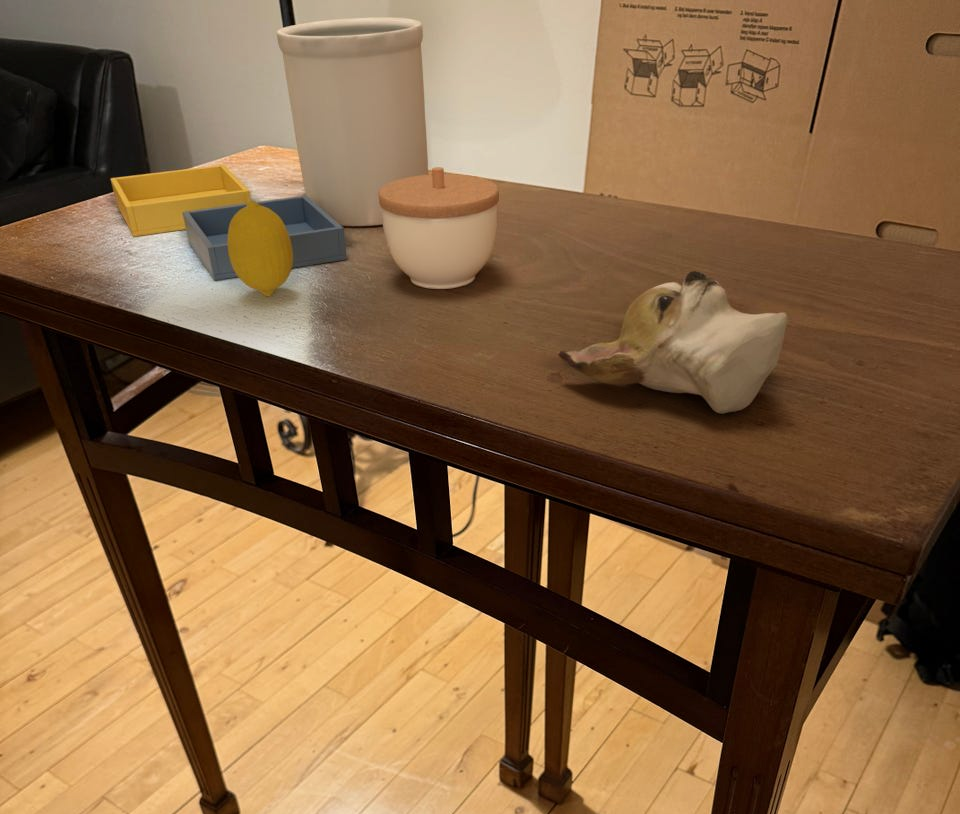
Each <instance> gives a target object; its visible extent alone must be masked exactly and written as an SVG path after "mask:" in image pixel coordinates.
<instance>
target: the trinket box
mask: <svg viewBox="0 0 960 814" xmlns="http://www.w3.org/2000/svg"><path fill="white" fill-rule="evenodd" d="M444 170H445V168H444V167H440V166H438V167H437V166H436V167H431V173H430V174H429V173H428V175H420V176H412V177H407V178H403V179H399V180H396V181H393V182H390V183H388V184H386V185H384V186H383V187H382V188H381V189H380V191H379V193H378V195H379V203H380V206H381V214H382V223H383V225H382V230H383V234H384V238H385V242H386V246H387V248H388V251H389V254H390V256H391V257H392V260H393V261H394V262H395V264H396V265H397V267H398V268H399V269H400V270H401V271H402V273H404V274H405V275H407V276H408V277H409V279H410V282H411V283H412V284H413V285H415V286H418V287H421V288H423V289H424V288H425V289H433V290H446V289H448V290H449V289H455V288H460V287H463V286H466V285H468V284H471V283H473V281H474V280H475V279H476V275H477V274H478V273H479V272H480V271H481V270H482V269H483V268H484V266H485V265H486V264H487V262H488V261H489V259H490V257H491V255H492V252H493V249H494V247H495V242H496V238H497V231H498V222H499V221H498V218H499V217H498V216H499V209H498V208H499V207H498V206H499V201H500V188H499V186H498V185H497V184H496V183H495V182H494V181H492V180H489V179H487V178H483V177H479V176H476V175H469V174H461V173H459V174H458V173H445V171H444Z"/></svg>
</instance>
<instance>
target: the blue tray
mask: <svg viewBox="0 0 960 814" xmlns="http://www.w3.org/2000/svg"><path fill="white" fill-rule="evenodd" d="M256 202H257V203H258V204H259V205H261V206H264V207H267V208H269V209H270V210H272V211H273V212H275V213H276V214H277V215H278V216H279V217H280V218H281V220H282V221H283V223H284V225H285V227H286V229H287V232H288V234H289V237H290V241H291V245H292V251H293V263H292V269H295V268H302V267H308V266H314V264H315V265H320V264H326V263H327V264H328V263H333V262H340V261H345V260H348V256H347V248H346V239H345V237H346V236H345V229H344V226H341V225H340V224H339V223H337V222H336V221H335V220H334V219H333V218H332V217H331V216H329V215H328V214H327V213H326V212H325V211H324V210H322V209H321V208H320V207H319V206H318V205H317V204H316V203H314V202H313V201H312V200H311V199H310V198H309V197H308V196H306V194H305V195H298V196H289V197H282V198H275V199H269V200H262V201H261V200H260V201H256ZM247 204H248V203H245V204H238V205H230V206H223V207H216V208H208V209H201V210H193V211H186V212H182V213H183V218H184V223H185V227H186V229H185V231H186V236H187V240H188V243H189V245H190V246H191V248H192V249H193V251H194V253H196V255H197V257H198V258H199V260H200V261H201V262H202V264H203V266H204V267H205V268H206V271H208V273H209V274H210V276H211V278H212V279H213V280H214V281H219V280H227V279H232V278H239V277H238V276H237V274H236V273H235V271H234V269H233V267H232V264H231V261H230V258H229V253H228V229H229V225H230V222H231V220H232V218H233V217H234V215H235V214H236V213H237V212H238V211H239V210H240V209H242V208H244V207H246V206H247Z"/></svg>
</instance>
